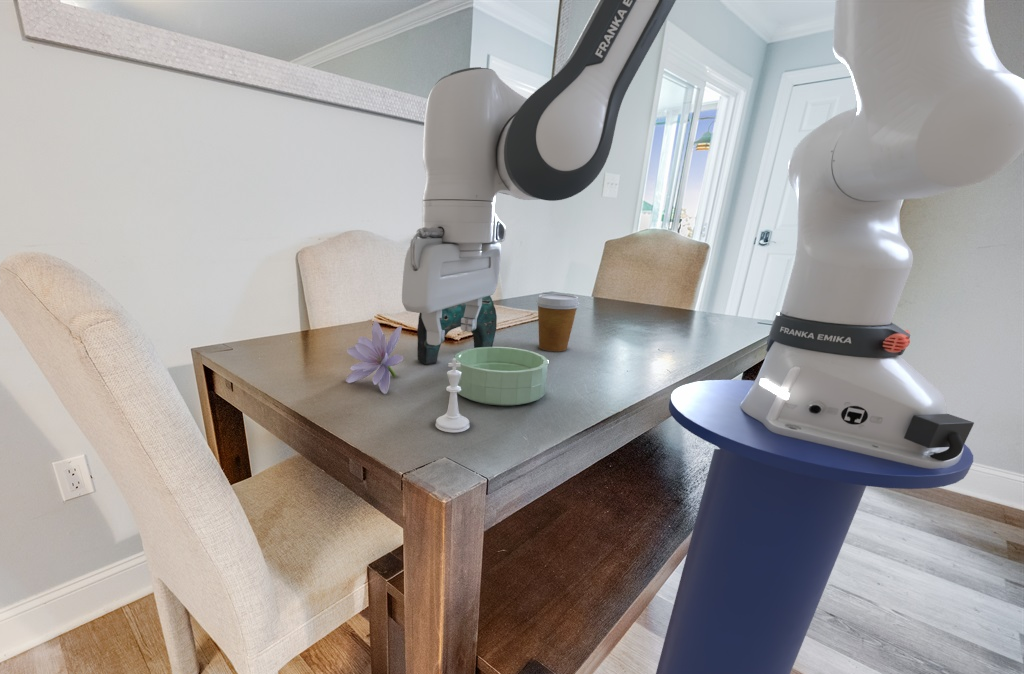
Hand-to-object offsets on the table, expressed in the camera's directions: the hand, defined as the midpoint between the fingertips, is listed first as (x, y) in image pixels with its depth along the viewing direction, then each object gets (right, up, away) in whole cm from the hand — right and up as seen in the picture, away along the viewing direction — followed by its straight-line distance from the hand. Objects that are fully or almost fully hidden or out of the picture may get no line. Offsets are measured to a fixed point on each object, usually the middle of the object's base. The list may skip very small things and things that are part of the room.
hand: (452, 336), depth 62 cm
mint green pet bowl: (+9, -7, +18) cm, 22 cm away
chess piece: (0, -12, +5) cm, 13 cm away
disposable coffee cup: (+26, +3, +46) cm, 53 cm away
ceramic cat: (+3, +1, +38) cm, 38 cm away
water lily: (-13, -6, +22) cm, 26 cm away
